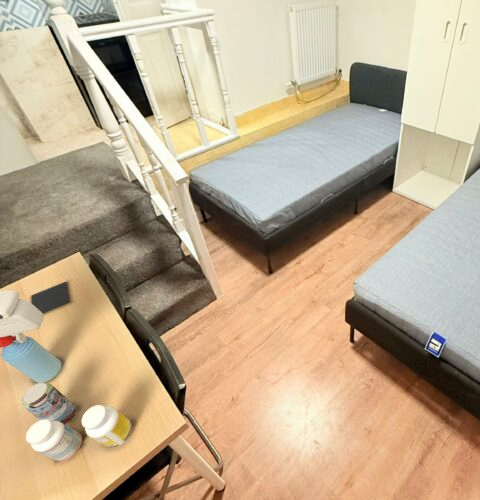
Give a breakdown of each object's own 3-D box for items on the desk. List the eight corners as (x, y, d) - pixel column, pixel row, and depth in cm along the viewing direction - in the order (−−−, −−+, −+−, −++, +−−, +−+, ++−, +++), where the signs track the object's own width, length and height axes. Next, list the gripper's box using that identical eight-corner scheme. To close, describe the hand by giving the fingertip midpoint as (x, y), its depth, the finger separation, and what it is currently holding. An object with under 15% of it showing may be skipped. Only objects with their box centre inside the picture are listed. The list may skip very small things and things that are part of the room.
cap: (7, 348, 78) (0, 343, 77) (-7, 346, 79) (-14, 341, 77) (20, 334, 81) (13, 329, 79) (7, 332, 82) (0, 327, 80)
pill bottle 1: (54, 440, 79) (22, 424, 71) (82, 427, 80) (55, 410, 73) (52, 467, 75) (19, 452, 67) (83, 452, 77) (53, 437, 69)
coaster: (33, 317, 104) (32, 316, 104) (32, 296, 110) (31, 295, 110) (69, 302, 108) (68, 301, 107) (66, 282, 114) (65, 281, 113)
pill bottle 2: (133, 414, 82) (110, 395, 74) (133, 441, 78) (109, 424, 70) (104, 425, 81) (78, 407, 72) (103, 453, 76) (75, 437, 68)
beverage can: (54, 436, 79) (20, 418, 71) (46, 412, 83) (14, 393, 75) (82, 417, 82) (53, 397, 74) (74, 395, 86) (45, 374, 78)
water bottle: (29, 385, 88) (-22, 352, 76) (38, 362, 93) (-8, 327, 81) (57, 379, 89) (12, 345, 77) (64, 356, 94) (23, 321, 82)
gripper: (-100, 334, 67) (-45, 366, 77) (13, 311, 71) (52, 344, 80) (-81, 309, 72) (-32, 342, 82) (24, 288, 75) (59, 322, 85)
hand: (11, 343), depth 81 cm, fingers closed on cap, 4 cm apart
